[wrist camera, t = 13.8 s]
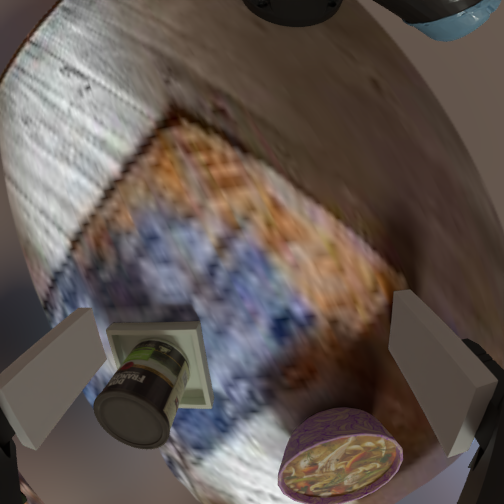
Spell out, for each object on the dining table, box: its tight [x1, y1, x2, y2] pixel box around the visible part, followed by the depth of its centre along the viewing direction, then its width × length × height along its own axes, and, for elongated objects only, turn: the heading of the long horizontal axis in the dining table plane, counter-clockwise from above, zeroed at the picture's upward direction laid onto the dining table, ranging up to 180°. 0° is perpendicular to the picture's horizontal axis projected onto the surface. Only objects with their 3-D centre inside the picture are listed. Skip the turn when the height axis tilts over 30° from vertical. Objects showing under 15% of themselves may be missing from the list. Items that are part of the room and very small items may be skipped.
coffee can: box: [94, 338, 191, 449], centre depth 40 cm, size 10×10×14 cm
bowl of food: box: [278, 407, 403, 504], centre depth 44 cm, size 20×20×12 cm
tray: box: [106, 321, 214, 409], centre depth 46 cm, size 14×14×3 cm
